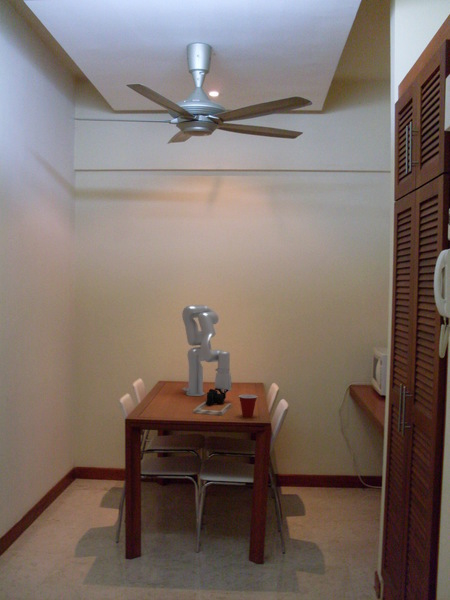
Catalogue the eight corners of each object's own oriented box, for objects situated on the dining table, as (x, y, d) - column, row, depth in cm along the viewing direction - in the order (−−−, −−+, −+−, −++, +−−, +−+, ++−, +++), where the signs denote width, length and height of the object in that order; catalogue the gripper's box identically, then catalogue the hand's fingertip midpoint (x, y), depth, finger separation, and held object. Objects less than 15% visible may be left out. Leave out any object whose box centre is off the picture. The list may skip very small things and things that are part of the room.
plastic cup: (256, 413, 317) (256, 393, 316) (258, 418, 306) (258, 397, 305) (237, 413, 316) (238, 393, 316) (238, 418, 305) (239, 397, 305)
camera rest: (193, 413, 316) (193, 409, 316) (204, 404, 337) (204, 401, 337) (221, 415, 311) (221, 412, 311) (231, 406, 333) (231, 403, 333)
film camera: (220, 407, 331) (220, 392, 331) (205, 406, 333) (205, 391, 333) (225, 401, 346) (225, 387, 346) (210, 400, 348) (211, 386, 348)
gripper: (210, 371, 343) (210, 399, 344) (233, 372, 339) (233, 401, 340) (213, 369, 350) (213, 397, 351) (236, 370, 347) (235, 399, 347)
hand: (223, 399), depth 346 cm, fingers closed
